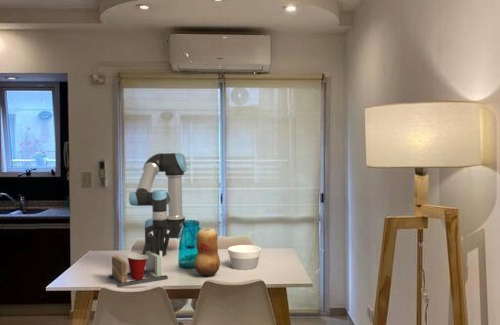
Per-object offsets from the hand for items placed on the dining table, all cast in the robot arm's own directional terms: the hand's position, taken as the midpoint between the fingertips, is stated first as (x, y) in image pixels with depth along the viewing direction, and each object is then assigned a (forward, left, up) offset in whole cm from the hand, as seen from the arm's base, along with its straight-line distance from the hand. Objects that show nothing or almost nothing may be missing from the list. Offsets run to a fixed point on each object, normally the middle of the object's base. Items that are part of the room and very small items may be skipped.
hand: (160, 262), depth 252 cm
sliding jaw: (+4, 0, -5) cm, 6 cm away
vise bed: (+12, 0, -7) cm, 14 cm away
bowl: (-47, +11, -7) cm, 48 cm away
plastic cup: (+12, 0, -7) cm, 14 cm away
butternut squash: (-21, +15, -7) cm, 26 cm away
